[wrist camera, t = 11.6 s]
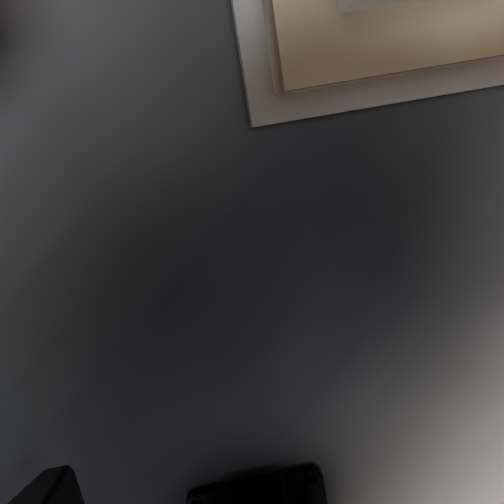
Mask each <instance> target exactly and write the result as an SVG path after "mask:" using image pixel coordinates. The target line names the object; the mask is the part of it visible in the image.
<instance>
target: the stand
mask: <svg viewBox="0 0 504 504" xmlns="http://www.w3.org/2000/svg"><path fill="white" fill-rule="evenodd" d="M230 2H231V8H232V14H233V21H234V27H235V33H236V39H237V46H238V52H239V58H240V65H241V71H242V77H243V84H244V90H245V96H246V103H247V109H248V115H249V122H250V127H258V126H264V125H270V124H276V123H282V122H288V121H293V120H299V119H305V118H311V117H317V116H323V115H329V114H334V113H340V112H346V111H352V110H358V109H364V108H370V107H375V106H381V105H387V104H393V103H399V102H405V101H411V100H416V99H422V98H428V97H434V96H440V95H446V94H452V93H457V92H463V91H469V90H475V89H481V88H487V87H493V86H498V85H504V0H423V1H417V2H411V3H404V4H398V5H391V6H385V7H378V8H372V9H366V10H359V11H353V12H346V13H340V14H339V13H338V3H337V0H230Z"/></svg>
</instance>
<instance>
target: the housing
mask: <svg viewBox="0 0 504 504" xmlns="http://www.w3.org/2000/svg"><path fill="white" fill-rule="evenodd" d="M417 1H423V0H337V3H338V13H339V14H340V13H346V12H353V11H359V10H366V9H372V8H378V7H385V6H391V5H398V4H404V3H411V2H417Z"/></svg>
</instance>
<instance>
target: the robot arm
mask: <svg viewBox="0 0 504 504" xmlns="http://www.w3.org/2000/svg"><path fill="white" fill-rule="evenodd" d="M311 475H315V477H313V478H309V476H311ZM194 500H200V502H194ZM7 504H84V500H83V497H82V494H81V491H80V488H79V485H78V482H77V478H76V475H75V472H74V470H73V469H72V467H70V466H68V465H64V466H60V467H55V468H50V469H46V470H44V471H43V472H42V473H40V474H39V475H38V476H37V477H36V478H35V479H34V480H33V481H32V482H31V483H29V484H28V485H27V486H26V487H25V488H24V489H23V490H22V491H21V492H20V493H18V494H17V495H16V496H15V497H14V498H13V499H12V500H11V501H10V502H9V503H7ZM186 504H327V500H326V493H325V486H324V480H323V475H322V473H321V470H320V468H319V467H318V466H316V465H307V466H303V467H298V468H293V469H288V470H284V471H279V472H274V473H269V474H265V475H260V476H255V477H250V478H246V479H241V480H236V481H231V482H227V483H222V484H217V485H212V486H208V487H203V488H198V489H194V490H192V491H190V492H189V493H188V495H187V501H186Z"/></svg>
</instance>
